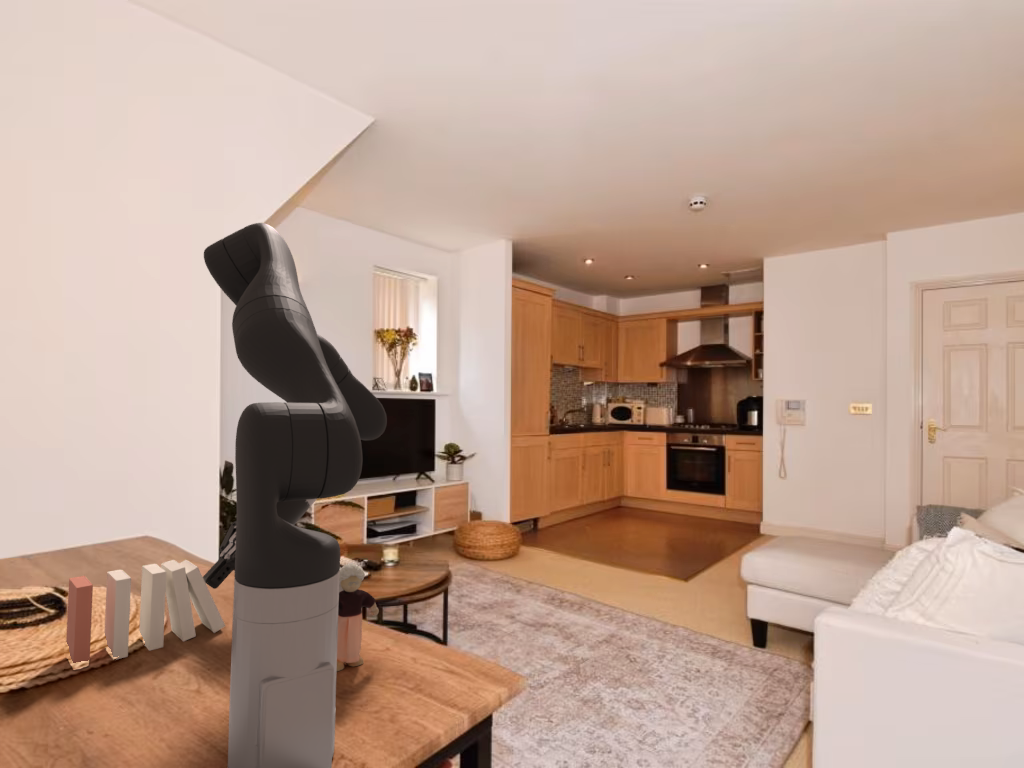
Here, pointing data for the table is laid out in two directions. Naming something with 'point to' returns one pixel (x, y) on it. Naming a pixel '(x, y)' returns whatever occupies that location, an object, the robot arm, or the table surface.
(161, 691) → the table surface
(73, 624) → the domino
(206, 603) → the domino
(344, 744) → the table surface
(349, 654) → the grandmother figurine
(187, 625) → the domino
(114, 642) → the domino
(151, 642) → the domino
